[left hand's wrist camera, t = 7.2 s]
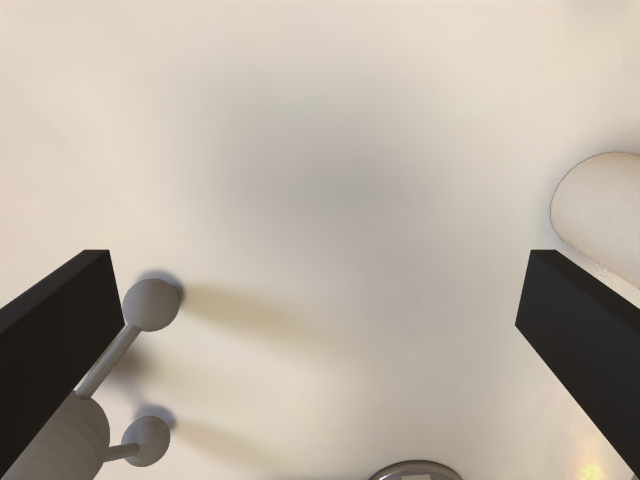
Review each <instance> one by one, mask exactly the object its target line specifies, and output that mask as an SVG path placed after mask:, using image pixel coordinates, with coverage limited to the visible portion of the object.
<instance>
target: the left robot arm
mask: <svg viewBox="0 0 640 480" xmlns="http://www.w3.org/2000/svg"><path fill="white" fill-rule="evenodd" d="M124 326H125V322H124V318H123V313H122V308H121V303H120V299H119V294H118V289H117V285H116V280H115V275H114V270H113V266H112V261H111V256H110V252H109V250H83V251H82V252H81V253H79V254H78V255H76V256H75V257H73V258H72V259H71V260H69V261H68V262H66V263H65V264H64V265H62V266H61V267H59V268H58V269H56V270H55V271H54V272H52V273H51V274H49V275H48V276H47V277H45V278H44V279H42V280H41V281H39V282H38V283H37V284H35V285H34V286H32V287H31V288H30V289H28V290H27V291H25V292H24V293H22V294H21V295H20V296H18V297H17V298H15V299H14V300H13V301H11V302H10V303H8V304H7V305H5V306H4V307H3V308H1V309H0V480H1V478H2V477H3V476H4V475H5V473H6V472H7V471H8V470H9V468H10V467H11V466H12V465H13V463H14V462H15V461H16V460H17V459H18V457H19V456H20V455H21V454H22V452H23V451H24V450H25V449H26V447H27V446H28V445H29V444H30V442H31V441H32V440H33V439H34V437H35V436H36V435H37V434H38V433H39V431H40V430H41V429H42V428H43V426H44V425H45V424H46V423H47V421H48V420H49V419H50V418H51V416H52V415H53V414H54V413H55V411H56V410H57V409H58V408H59V406H60V405H61V404H62V403H63V402H64V400H65V399H66V398H67V397H68V395H69V394H70V393H71V392H72V390H73V389H74V388H75V387H76V385H77V384H78V383H79V382H80V380H81V379H82V378H83V377H84V375H85V374H86V373H87V372H88V371H89V369H90V368H91V367H92V366H93V364H94V363H95V362H96V361H97V359H98V358H99V357H100V356H101V354H102V353H103V352H104V351H105V349H106V348H107V347H108V346H109V344H110V343H111V342H112V341H113V340H114V338H115V337H116V336H117V335H118V333H119V332H120V331H121V330H122V328H123V327H124ZM515 326H516V327H517V328H518V330H519V331H520V332H521V333H522V335H523V336H524V337H525V338H526V340H527V341H528V342H529V343H530V344H531V346H532V347H533V348H534V349H535V351H536V352H537V353H538V354H539V356H540V357H541V358H542V359H543V361H544V362H545V363H546V364H547V366H548V367H549V368H550V369H551V371H552V372H553V373H554V374H555V375H556V377H557V378H558V379H559V380H560V382H561V383H562V384H563V385H564V387H565V388H566V389H567V390H568V392H569V393H570V394H571V395H572V397H573V398H574V399H575V400H576V402H577V403H578V404H579V405H580V406H581V408H582V409H583V410H584V411H585V413H586V414H587V415H588V416H589V418H590V419H591V420H592V421H593V423H594V424H595V425H596V426H597V428H598V429H599V430H600V431H601V433H602V434H603V435H604V436H605V437H606V439H607V440H608V441H609V442H610V444H611V445H612V446H613V447H614V449H615V450H616V451H617V452H618V454H619V455H620V456H621V457H622V459H623V460H624V461H625V462H626V463H627V465H628V466H629V467H630V468H631V470H632V471H633V472H634V473H635V475H636V476H637V477H638V478H639V480H640V309H639V308H637V307H636V306H635V305H633V304H632V303H630V302H629V301H627V300H626V299H625V298H623V297H622V296H620V295H619V294H618V293H616V292H615V291H613V290H612V289H610V288H609V287H608V286H606V285H605V284H603V283H602V282H601V281H599V280H598V279H596V278H595V277H593V276H592V275H591V274H589V273H588V272H586V271H585V270H584V269H582V268H581V267H579V266H578V265H576V264H575V263H574V262H572V261H571V260H569V259H568V258H567V257H565V256H564V255H562V254H561V253H559V252H558V251H557V250H531V252H530V256H529V261H528V266H527V270H526V275H525V280H524V285H523V289H522V294H521V299H520V303H519V308H518V313H517V318H516V322H515ZM370 480H462V479H461V478H460V476H459V475H458V474H456V473H455V472H454V471H452V470H451V469H449V468H447V467H445V466H442V465H440V464H436V463H431V462H423V461H414V462H405V463H400V464H396V465H393V466H390V467H388V468H386V469H384V470H382V471H380V472H379V473H377V474H376V475H374V476H373V477H372V478H371V479H370Z"/></svg>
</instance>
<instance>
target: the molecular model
mask: <svg viewBox="0 0 640 480" xmlns="http://www.w3.org/2000/svg"><path fill="white" fill-rule="evenodd" d="M122 308H123V314H124V317H125V319H126V320H127V322H128V323H129V325H128V326H127V327H126V329H125V330H124V331H123V332H122V334H121V335H120V336H119V337H118V339H117V340H116V341H115V343H114V344H113V345H112V346H111V348H110V349H109V350H108V351H107V353H106V354H105V355H104V356H103V358H102V359H101V360H100V362H99V363H98V364H97V365H96V367H95V368H94V369H93V370H92V372H91V373H90V374H89V376H88V377H87V378H86V379H85V381H84V382H83V383H82V384H81V386H80V387H79V388H78V389H77V391H74V390H72V392H71V393H70V394H69V395H68V397H67V398H66V399H65V400H64V402H63V403H62V404H61V405H60V406H59V408H58V409H57V410H56V411H55V413H54V414H53V415H52V416H51V418H50V419H49V420H48V421H47V423H46V424H45V425H44V426H43V428H42V429H41V430H40V431H39V433H38V434H37V435H36V436H35V437H34V439H33V440H32V441H31V442H30V444H29V445H28V446H27V447H26V449H25V450H24V451H23V452H22V454H21V455H20V456H19V457H18V459H17V460H16V461H15V462H14V463H13V465H12V466H11V467H10V468H9V470H8V471H7V472H6V473H5V475H4V476H3V477H2V478H1V480H93V479H94V477H95V476H96V475H97V473H98V472H99V470H100V469H101V467H102V465H103V463H104V462H108V461H113V460H117V459H122V458H125V460H126V461H127V462H128V463H130V464H131V465H133V466H137V467H146V466H149V465H152V464H154V463H156V462H157V461H158V460H160V459H161V458H162V457H163V455H164V454H165V453H166V451H167V449H168V447H169V443H170V431H169V428H168V426H167V424H166V423H165V422H164V421H163V420H161V419H160V418H157V417H153V416H147V417H143V418H140V419H138V420H136V421H134V422H133V423H132V424H131V425H130V426H129V427H128V428H127V430H126V431H125V433H124V435H123V437H122V441H121V445H118V446H112V447H109V443H110V427H109V423H108V419H107V417H106V415H105V413H104V411H103V409H102V408H101V406H100V405H99V404H98V403H97V402H96V401H95V400H93V399H92V398H90V397H91V396H92V395H93V393H94V392H95V391H96V390H97V388H98V387H99V386H100V384H101V383H102V382H103V380H104V379H105V378H106V376H107V375H108V374H109V372H110V371H111V370H112V369H113V367H114V366H115V365H116V363H117V362H118V361H119V359H120V358H121V357H122V355H123V354H124V353H125V351H126V350H127V349H128V347H129V346H130V345H131V344H132V342H133V341H134V340H135V338H136V337H137V336H138V334H139V333H140V332H141V331H146V332H153V331H158V330H161V329H163V328H164V327H166V326H168V325H169V324H170V323H171V322H172V321H173V320H174V318H175V317H176V315H177V313H178V310H179V297H178V295H177V292H176V291H175V289H174V288H173V287H172V286H171V285H170V284H169V283H167V282H165V281H163V280H159V279H146V280H143V281H140V282H138V283H136V284H135V285H133V286H132V287H131V288H130V289H129V290H128V292H127V293H126V295H125V297H124V300H123V307H122Z"/></svg>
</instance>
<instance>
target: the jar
mask: <svg viewBox="0 0 640 480" xmlns="http://www.w3.org/2000/svg"><path fill="white" fill-rule="evenodd" d="M551 222H552V225H553V228H554V230H555V232H556V233H557V235H558V236H559V237H560V238H561V239H562V240H563V241H564V242H566V243H567V244H569V245H570V246H572V247H573V248H575V249H577V250H578V251H580V252H581V253H583V254H584V255H586V256H587V257H589V258H590V259H592V260H594V261H595V262H597V263H598V264H600V265H601V266H603V267H604V268H606V269H607V270H609V271H611V272H612V273H614V274H615V275H617V276H618V277H620V278H621V279H623V280H624V281H626V282H628V283H629V284H631V285H632V286H634V287H635V288H637V289H638V290H640V156H636V155H632V154H628V153H622V152H609V153H603V154H599V155H596V156H593V157H591V158H589V159H587V160H585V161H583V162H582V163H580V164H579V165H577V166H576V167H575V168H573V169H572V170H571V171H570V172H569V173H568V174H567V175H566V176H565V177H564V179H563V180H562V181H561V183H560V184H559V186H558V188H557V189H556V191H555V194H554V196H553V199H552V203H551Z"/></svg>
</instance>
